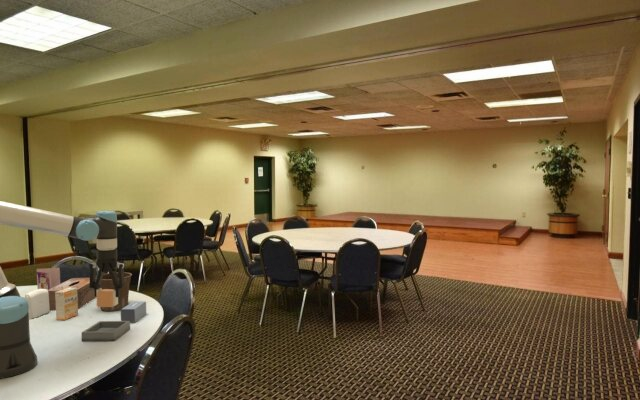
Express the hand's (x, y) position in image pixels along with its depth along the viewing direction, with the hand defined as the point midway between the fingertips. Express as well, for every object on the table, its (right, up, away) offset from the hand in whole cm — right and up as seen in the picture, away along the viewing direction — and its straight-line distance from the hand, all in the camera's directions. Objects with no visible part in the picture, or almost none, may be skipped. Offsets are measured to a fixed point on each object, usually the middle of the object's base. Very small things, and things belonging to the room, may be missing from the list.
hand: (107, 304), depth 172 cm
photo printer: (-45, -11, +25) cm, 53 cm away
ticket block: (+3, -11, +19) cm, 22 cm away
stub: (0, 0, 0) cm, 0 cm away
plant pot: (-14, -10, +35) cm, 39 cm away
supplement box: (-29, -11, +21) cm, 38 cm away
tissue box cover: (-40, -11, +46) cm, 61 cm away
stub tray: (0, -12, -1) cm, 12 cm away
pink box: (-62, -10, +59) cm, 86 cm away
